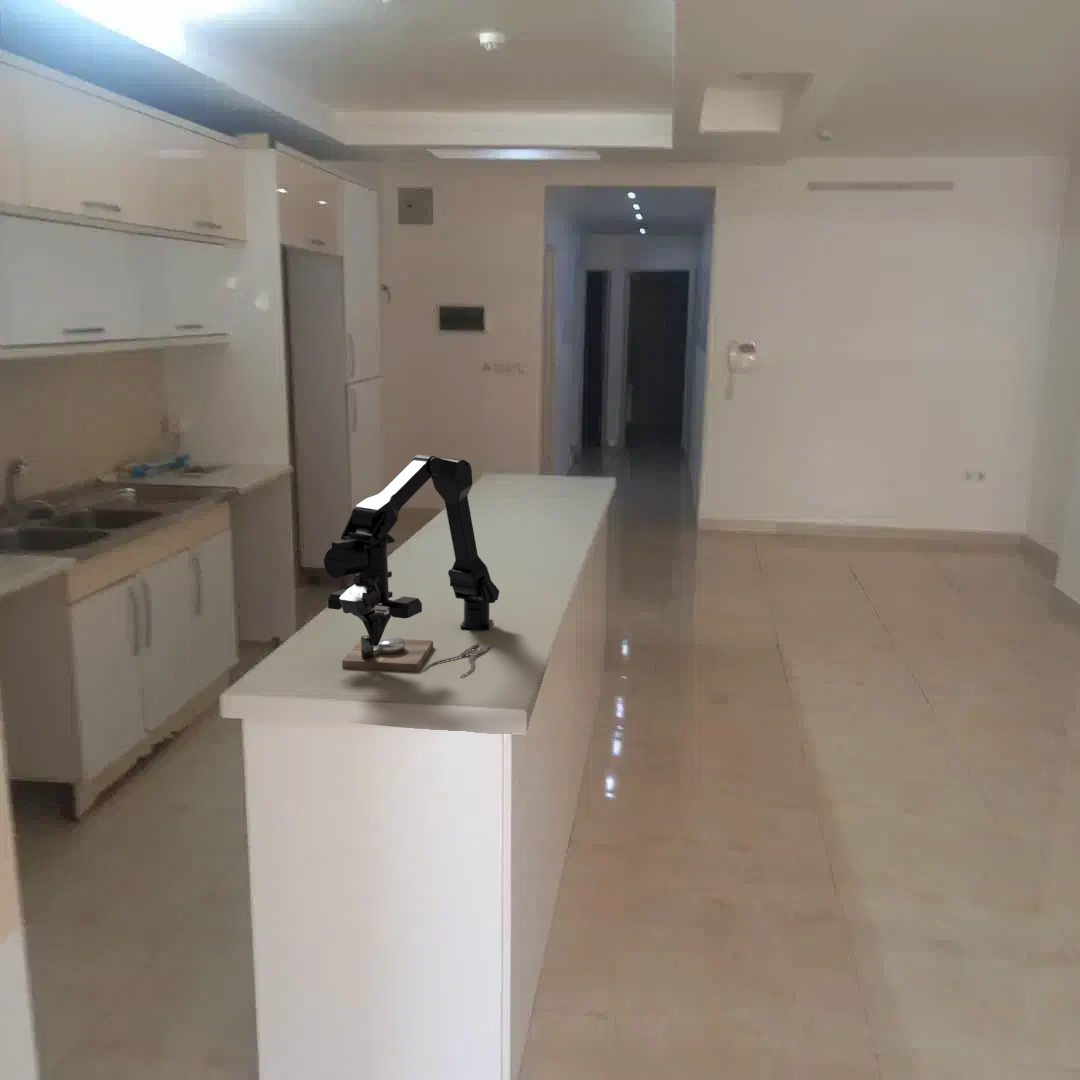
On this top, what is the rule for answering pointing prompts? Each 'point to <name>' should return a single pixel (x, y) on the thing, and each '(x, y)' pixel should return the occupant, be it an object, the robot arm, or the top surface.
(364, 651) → the crank handle
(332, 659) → the top surface
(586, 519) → the top surface
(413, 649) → the dial plate
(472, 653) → the pliers
